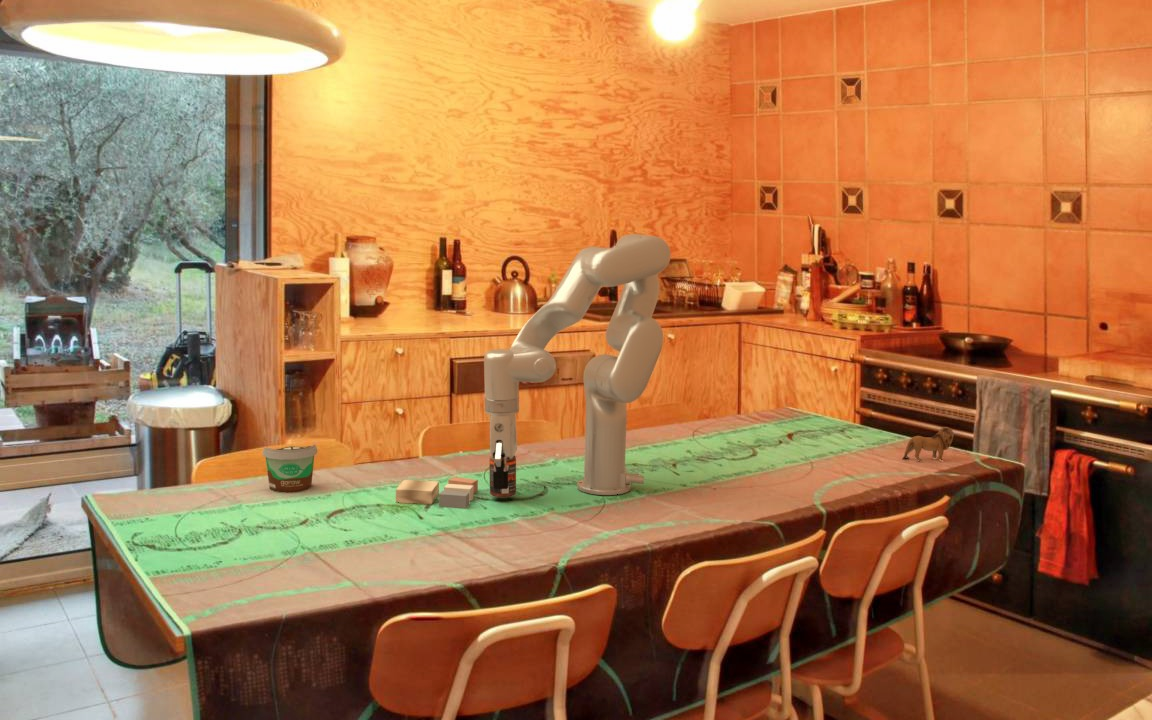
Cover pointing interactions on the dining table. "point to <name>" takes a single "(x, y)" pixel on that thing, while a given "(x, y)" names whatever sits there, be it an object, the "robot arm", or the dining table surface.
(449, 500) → the brick slate
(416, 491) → the oak slab
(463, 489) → the brick cream
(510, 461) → the supplement bottle
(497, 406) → the robot arm
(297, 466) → the food container
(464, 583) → the dining table surface
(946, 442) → the lion figurine
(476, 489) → the brick terracotta
